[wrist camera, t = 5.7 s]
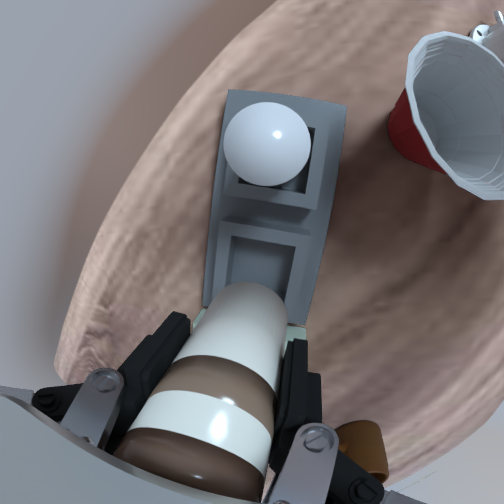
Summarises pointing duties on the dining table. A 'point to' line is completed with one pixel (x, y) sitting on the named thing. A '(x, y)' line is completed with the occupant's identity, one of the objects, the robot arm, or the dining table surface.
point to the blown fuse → (217, 399)
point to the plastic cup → (453, 113)
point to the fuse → (267, 144)
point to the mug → (365, 447)
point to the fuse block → (275, 211)
